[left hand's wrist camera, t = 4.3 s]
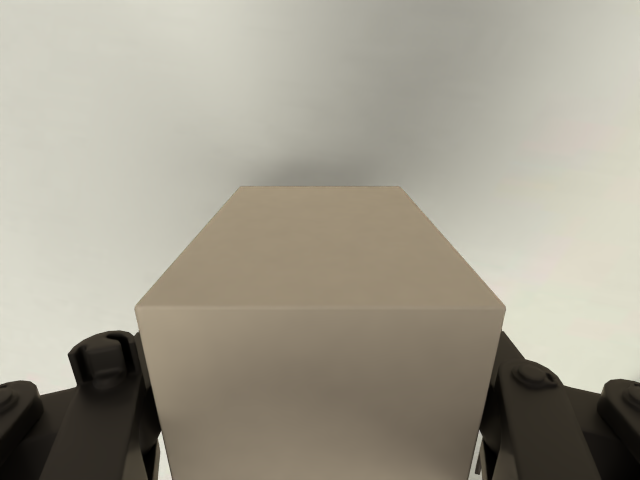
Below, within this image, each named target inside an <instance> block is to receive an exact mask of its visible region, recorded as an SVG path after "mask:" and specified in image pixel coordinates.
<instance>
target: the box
mask: <svg viewBox="0 0 640 480" xmlns="http://www.w3.org/2000/svg"><path fill="white" fill-rule="evenodd" d="M505 311H506V307H505V305H504V304H503V303H502V302H501V301H500V299H499V298H498V297H497V296H496V295H495V294H494V293H493V291H492V290H491V289H490V288H489V287H488V286H487V285H486V283H485V282H484V281H483V280H482V279H481V278H480V277H479V276H478V274H477V273H476V272H475V271H474V270H473V269H472V268H471V266H470V265H469V264H468V263H467V262H466V261H465V260H464V259H463V257H462V256H461V255H460V254H459V253H458V252H457V251H456V249H455V248H454V247H453V246H452V245H451V244H450V243H449V241H448V240H447V239H446V238H445V237H444V236H443V235H442V234H441V232H440V231H439V230H438V229H437V228H436V227H435V226H434V224H433V223H432V222H431V221H430V220H429V219H428V218H427V217H426V215H425V214H424V213H423V212H422V211H421V210H420V209H419V207H418V206H417V205H416V204H415V203H414V202H413V201H412V199H411V198H410V197H409V196H408V195H407V194H406V193H405V192H404V190H403V189H402V188H401V187H399V186H241V187H239V188H238V190H237V191H236V192H235V193H234V194H233V195H232V196H231V198H230V199H229V200H228V201H227V202H226V203H225V204H224V205H223V207H222V208H221V209H220V210H219V211H218V212H217V213H216V215H215V216H214V217H213V218H212V219H211V220H210V221H209V223H208V224H207V225H206V226H205V227H204V228H203V229H202V230H201V232H200V233H199V234H198V235H197V236H196V237H195V238H194V240H193V241H192V242H191V243H190V244H189V245H188V246H187V248H186V249H185V250H184V251H183V252H182V253H181V254H180V255H179V257H178V258H177V259H176V260H175V261H174V262H173V263H172V265H171V266H170V267H169V268H168V269H167V270H166V271H165V273H164V274H163V275H162V276H161V277H160V278H159V279H158V280H157V282H156V283H155V284H154V285H153V286H152V287H151V288H150V290H149V291H148V292H147V293H146V294H145V295H144V296H143V298H142V299H141V300H140V301H139V302H138V303H137V304H136V305H135V313H136V318H137V323H138V327H139V332H140V336H141V341H142V345H143V350H144V354H145V359H146V363H147V368H148V372H149V377H150V381H151V386H152V390H153V395H154V399H155V404H156V408H157V413H158V417H159V422H160V426H161V431H162V435H163V440H164V444H165V449H166V454H167V458H168V463H169V467H170V472H171V476H172V480H468V477H469V473H470V468H471V464H472V459H473V455H474V450H475V446H476V441H477V437H478V432H479V428H480V423H481V419H482V414H483V410H484V405H485V401H486V396H487V392H488V387H489V383H490V379H491V374H492V370H493V365H494V361H495V356H496V352H497V347H498V343H499V338H500V334H501V329H502V325H503V320H504V316H505Z"/></svg>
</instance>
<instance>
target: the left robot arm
mask: <svg viewBox="0 0 640 480" xmlns="http://www.w3.org/2000/svg"><path fill="white" fill-rule="evenodd" d="M68 357H69V361H70V364H71V367H72V370H73V373H74V376H75V379H76V383H77V386H76V387H74V388H71V389H67V390H62V391H58V392H53V393H49V394H44V395H39V392H38V389H37V386H36V385H35V384H33V383H32V382H30V381H21V380H20V381H14V382H8V383H4V384H1V385H0V480H158V471H159V460H160V447H159V442H158V436H159V434H160V432H161V426H160V422H159V417H158V413H157V408H156V404H155V399H154V395H153V390H152V386H151V381H150V377H149V372H148V368H147V363H146V359H145V354H144V350H143V345H142V341H141V336H140V332H137V333H136V334H135V336H133V335H132V334H131V333H129V332H125V331H120V330H119V331H107V332H103V333H99V334H96V335H93V336H91V337H89V338H87V339H85V340H83V341H81V342H80V343H79V344H77V345H76V346H74V347H73V348H72V350H71V351H70V352H69V353H68ZM479 430H480V432H481V434H482V436H483V438H482V442H481V447H480V451H479V455H478V460H477V464H476V469H475V474H478V475H480V471H481V470H482V480H640V383H638V382H635V381H630V380H624V379H615V380H610V381H608V382H607V383H606V384H605V385H604V387H603V390H602V393H601V394H598V393H594V392H589V391H585V390H580V389H576V388H571V387H568V386H564V385H563V384H562V382H561V381H560V379H559V378H558V376H557V375H556V374H554V373H553V372H552V371H551V370H549V369H548V368H546V367H544V366H542V365H540V364H538V363H536V362H533V361H530V360H526V359H525V358H524V357H523V356H522V354H521V353H520V352H519V351H518V349H517V348H516V347H515V345H514V344H513V343H512V342H511V340H510V339H509V338H508V336H507V335H506V334H505V333H504V331H502V329H501V334H500V338H499V343H498V347H497V352H496V356H495V361H494V365H493V370H492V374H491V379H490V383H489V387H488V392H487V396H486V401H485V405H484V410H483V414H482V419H481V423H480V428H479Z"/></svg>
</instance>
